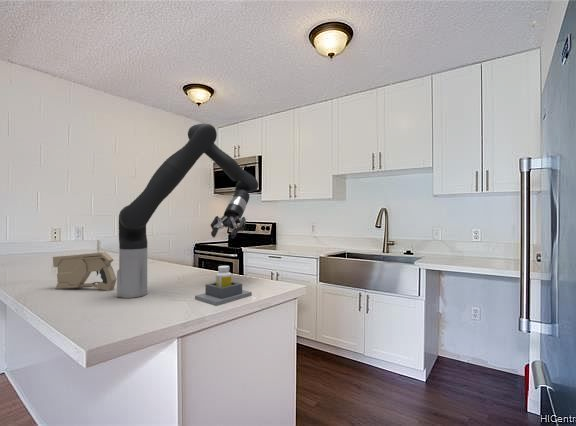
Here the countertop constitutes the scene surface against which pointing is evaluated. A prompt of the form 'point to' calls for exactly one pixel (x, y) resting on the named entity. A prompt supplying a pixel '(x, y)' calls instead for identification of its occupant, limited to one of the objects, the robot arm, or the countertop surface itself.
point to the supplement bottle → (223, 276)
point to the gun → (84, 270)
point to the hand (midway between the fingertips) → (222, 236)
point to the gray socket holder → (222, 293)
